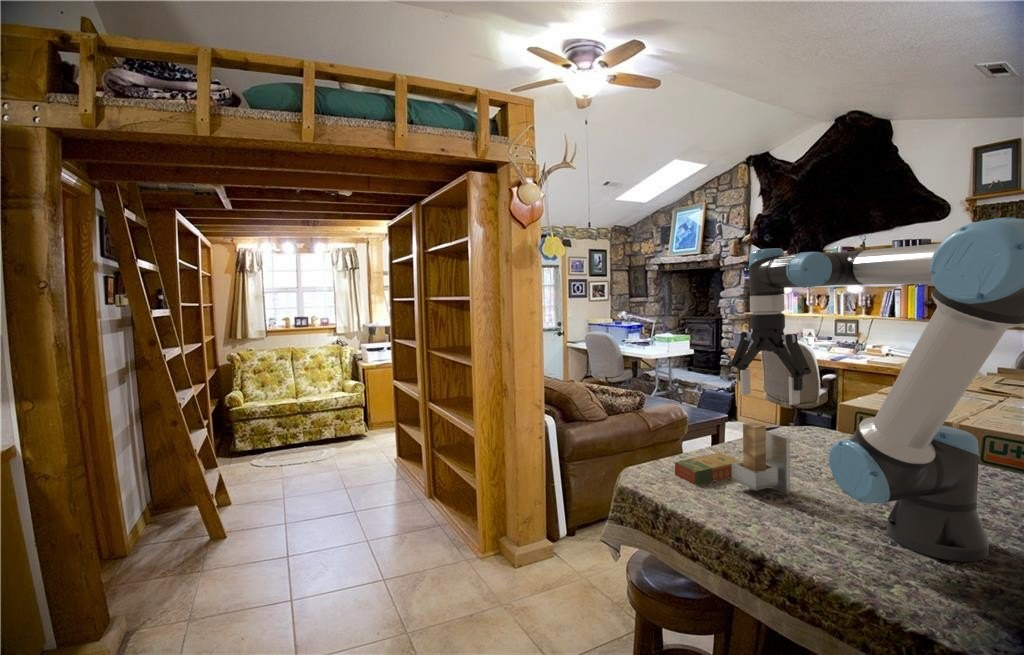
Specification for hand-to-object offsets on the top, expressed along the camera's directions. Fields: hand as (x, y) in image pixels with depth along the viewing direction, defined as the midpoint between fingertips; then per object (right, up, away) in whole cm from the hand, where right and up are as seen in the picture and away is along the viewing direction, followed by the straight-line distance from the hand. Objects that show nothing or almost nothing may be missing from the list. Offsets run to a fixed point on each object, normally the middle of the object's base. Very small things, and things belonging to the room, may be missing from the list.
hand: (768, 399), depth 120 cm
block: (-2, -20, +2) cm, 21 cm away
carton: (-9, -23, +14) cm, 29 cm away
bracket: (-1, -23, +3) cm, 24 cm away
